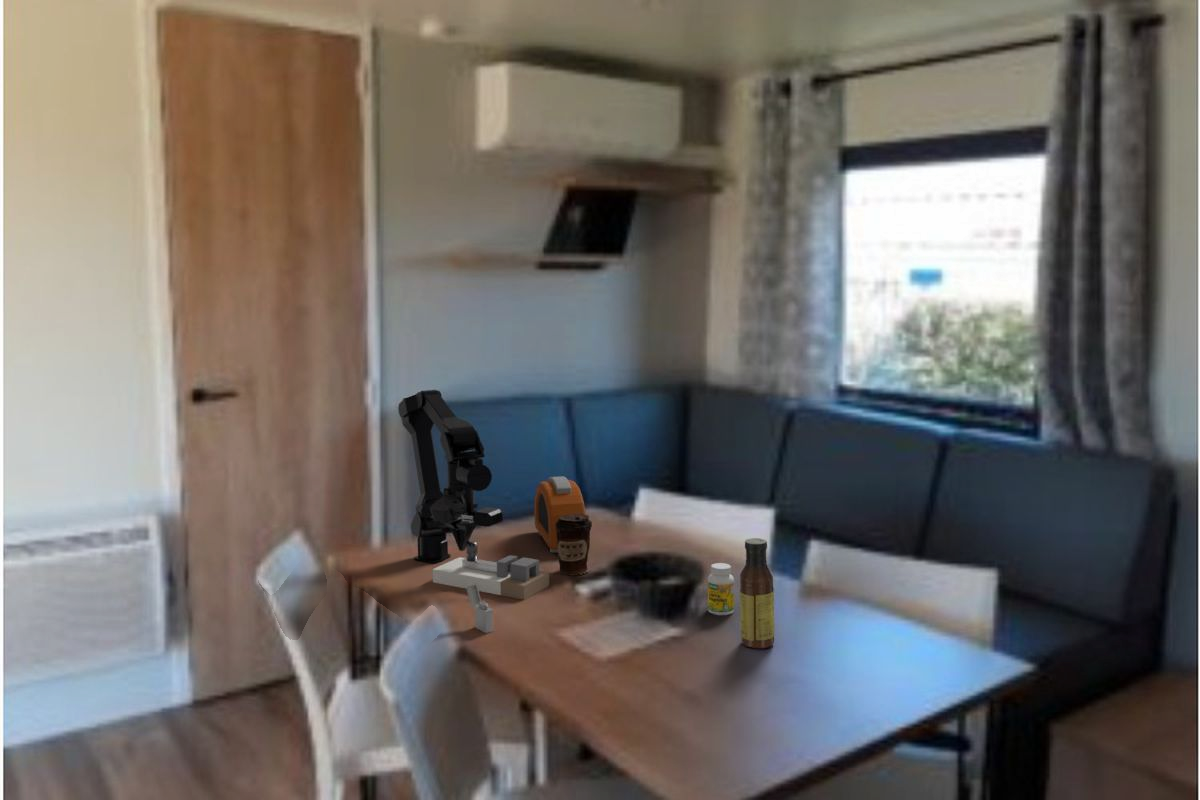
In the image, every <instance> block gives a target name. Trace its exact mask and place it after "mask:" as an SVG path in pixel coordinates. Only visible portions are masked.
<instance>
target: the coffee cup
mask: <svg viewBox="0 0 1200 800" xmlns="http://www.w3.org/2000/svg"><path fill="white" fill-rule="evenodd" d="M555 526H556V534H557V546H558V552H557V554H558V558H557V559H558V563H559V564H558V565H559V572H560V573H561V574H563V575H566V576H567V575H568V576H569V575H570V576H577V575H578V574H580V575H584V574H587V573H588V570H589V569H588V560H589V559H588V557H589V555H588V554H589V551H590V544H591V543H590V539H591V529H592V526H593V521H592V520H591V519H590V516H589V515H588V514H586V515H584V514H567V515H564V516H560V517H559V520H558V521H557V522H556V525H555ZM586 572H587V573H586ZM583 573H584V574H583ZM578 576H579V575H578Z"/></svg>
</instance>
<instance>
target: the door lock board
mask: <svg viewBox="0 0 1200 800" xmlns="http://www.w3.org/2000/svg"><path fill="white" fill-rule="evenodd" d="M465 558H466V557H461V556H460V557H456V558H455V559H452V560H450V561H448V562H446V563H444V564H441V565H438V566H437V567H435V568H432V583H435V584H440V585H445V586H450V587H454V588H455V587H456V588H462V589H466V587H467V586H469V585H472V584H477V587H478V591H479V592H482V593H487V594H488V593H489V594H494V595H498V596H502V597H503V596H504V597H509V598H513V599H519V600H527V599H529V598H530V597H532V596H534V595H535V594H538V593H539V592H541V591H542V590H544V589H546V588H548V587H549V586H550V573H549V572H548V571H546V572H545V571H542V570H541V571H540V560H539V559H535V558H529V557H524V556H523V557H521V558H519V557H518V556H517V555H511V554H510V555H507V556H506V557H505V556H504V557H503V558H501V559H499V560H498V561H496V562H497V573H494V572H489V571H483V570H477V569H472V568H466V567H462V560H463V559H465Z"/></svg>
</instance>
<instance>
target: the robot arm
mask: <svg viewBox="0 0 1200 800" xmlns="http://www.w3.org/2000/svg"><path fill="white" fill-rule="evenodd" d="M397 408H398V410H397V411H398V415H399V417H400V418H401V422H402V426H403V427H404V429H405V430H406V431H407V432H408V433H409V434H410V436H411V441H412V446H413V455H414V460H415V467H416V468H415V469H416V473H417V479H418V480H417V481H418V487H419V492H420V496H419V498H418V500H417V503H416V505H415V515H414V516H413V519H412V521H411V523H410V530H411V535H413V536H415V537H416V538H417V555H415V556H414V557H413V560H414V561H415V560H416V561H419V562H420V561H421V562H426V563H432V564H436V563H439V562H441V561H443V560H445V559H446V560H447V559H448V558H450V557H451V556H452V554H451V553H449V547H448V545H449V544H448V542H449V541H448V539H447V534H451V533H452V535H453V539H454V540H455V543H456V545H457V548H458V551H459V552H464V551H466V542H468V541H470V539H471V536H472V534H473V532H474V530H475V529H476V526H479V527H486V528H487V527H489V528H490V527H491V526H494V525H497V524H499V523H502V522H503V521H504V520H503V518H504V517H503V516H504V515H503V511H502V510H501V509H500V508H496V507H484V508H481V509H479V510H475V509H478V502H475V492H474V491H476V492H483V491H484V490H485V489H487V488H488V487H490V484H491V483H492V479H493V477H492V476H493V475H492V471H491V469H489V467H488V466H487V465H484V460H483V458H485V452H484V451H485V448H484V445H483V442H482V440H481V437H480V436H479V433H478V431H477V429H476V428H475V427H474V426H473V425H472V424H471V423H470V422H469V421H467V420H463V419H461V418H459V417H457V415H456V414H455V413H454V411H453V410H452V409H451V407H450V406H449V405H448V404H447V403H446V401H445V400H444V398H443V397H442V393H441V391H440V390H437V389H429V390H420V391H418V392H417V393H416V394H413V395H411V396H407V397H403V398H402V400H401V401H400V402H399V403H398V407H397ZM434 425H435V428H437V430H438V431H439V433H440V436H439V437H440V439H439V442H440V445H441V447H442V449H443V452H444V454H445V456H444V459H445V460H446V466H447V467H446V473H447V474H446V475H447V486H446V487H443V491H442V490H441V486H440V484H441V483H440V479H439V472H438V467H437V459H436V454H435V447H434V441H433V435H432V430H433V427H434Z"/></svg>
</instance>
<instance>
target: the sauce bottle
mask: <svg viewBox="0 0 1200 800" xmlns="http://www.w3.org/2000/svg"><path fill="white" fill-rule="evenodd" d="M744 549H745V558H746V559H745V565H744V567H743V568H742V570H741V572H740V575H739V579H740V580H739V583H740V584H739V587H740V588H739V589H740V590H739V598H740V599H739V600H740V601H739V603H740V605H739V607H740V608H739V610H740V636H741V642H742V644H743V645H744V646H745V647H748V648H752V649H755V650H756V649H759V650H760V649H762V650H763V649H768V648H771V647H772V646H773V645H774V642H775V633H776V632H775V592H774V591H775V588H774V577H773V575H772V573H771V571H770V570H771V569H769V565H768V564H767V563H768V561H767V560H768V559H767V549H768V542H767V540H766V539H764V538H758V537H753V538H747V539H745V540H744Z"/></svg>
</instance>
